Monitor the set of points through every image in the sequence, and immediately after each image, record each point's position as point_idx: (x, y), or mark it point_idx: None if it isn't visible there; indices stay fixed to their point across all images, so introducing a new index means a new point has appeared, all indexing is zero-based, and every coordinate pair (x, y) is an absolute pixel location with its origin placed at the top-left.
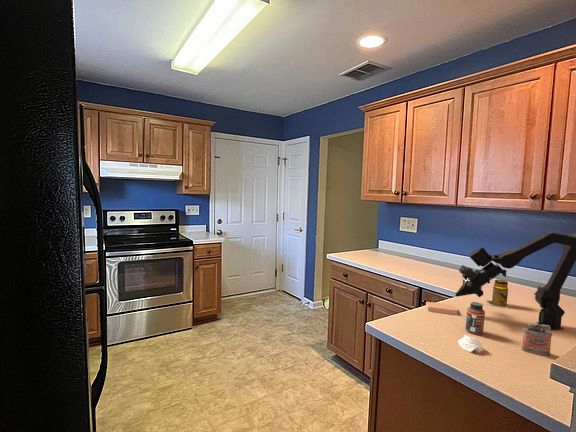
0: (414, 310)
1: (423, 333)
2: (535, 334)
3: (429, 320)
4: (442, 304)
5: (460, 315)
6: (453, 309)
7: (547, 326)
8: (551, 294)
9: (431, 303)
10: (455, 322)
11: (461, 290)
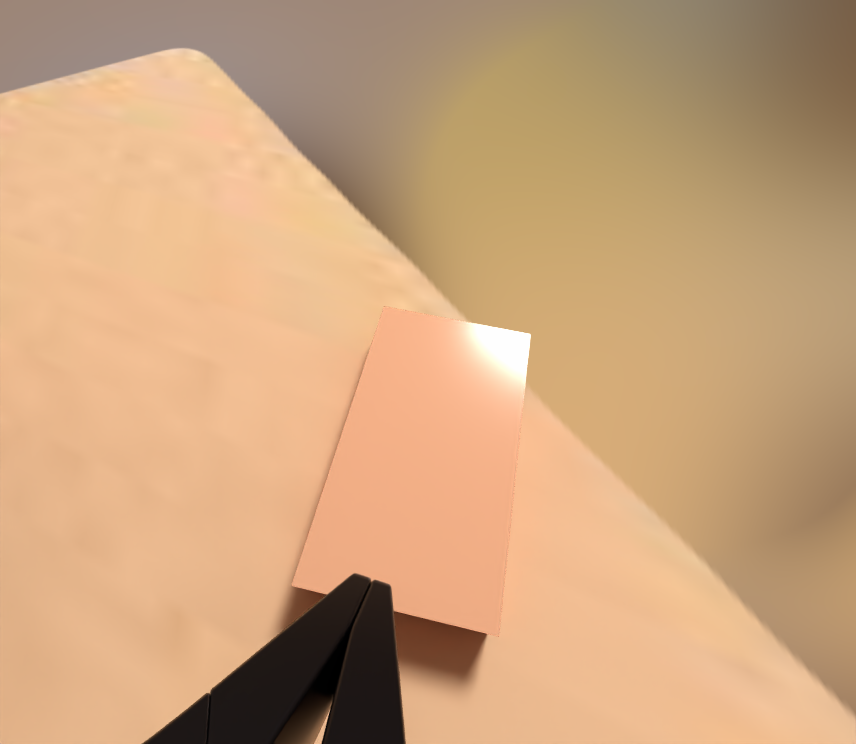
0: (389, 247)
1: (9, 192)
2: None
3: (194, 281)
4: (481, 471)
5: None
6: (325, 542)
7: None
8: None
9: (486, 365)
10: (116, 469)
11: (193, 718)
